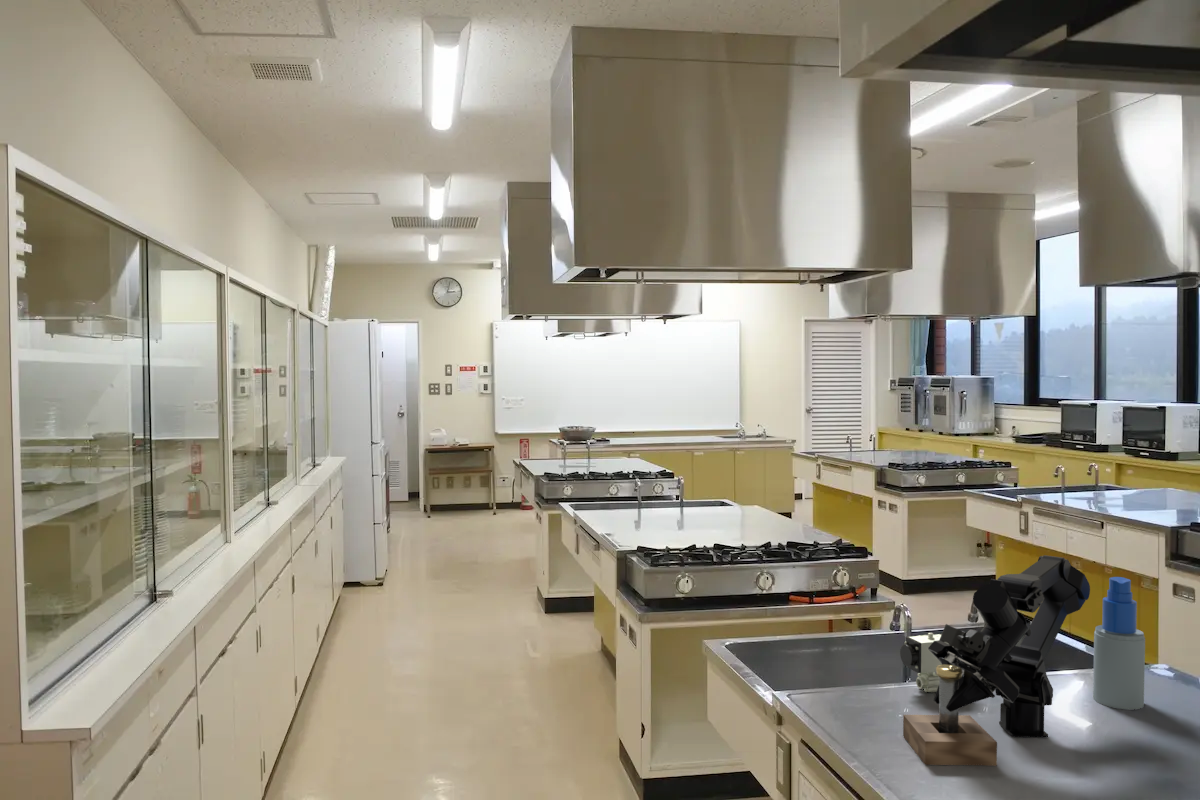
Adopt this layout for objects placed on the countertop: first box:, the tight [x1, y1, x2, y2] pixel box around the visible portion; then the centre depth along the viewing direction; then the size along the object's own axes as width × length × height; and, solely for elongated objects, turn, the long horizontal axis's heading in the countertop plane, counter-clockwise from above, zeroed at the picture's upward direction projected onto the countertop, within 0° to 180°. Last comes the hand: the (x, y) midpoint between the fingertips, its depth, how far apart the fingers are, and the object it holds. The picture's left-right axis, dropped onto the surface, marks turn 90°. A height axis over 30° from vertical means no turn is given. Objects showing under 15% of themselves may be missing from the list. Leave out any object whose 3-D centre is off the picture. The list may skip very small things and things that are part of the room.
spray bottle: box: [1092, 576, 1146, 711], centre depth 182 cm, size 9×9×25 cm
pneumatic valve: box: [899, 632, 962, 693], centre depth 189 cm, size 6×12×12 cm, turn 105°
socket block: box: [902, 714, 998, 767], centre depth 158 cm, size 12×12×4 cm
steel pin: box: [935, 665, 962, 733], centre depth 158 cm, size 4×4×13 cm
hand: (941, 706), depth 158 cm, fingers closed on steel pin, 3 cm apart
